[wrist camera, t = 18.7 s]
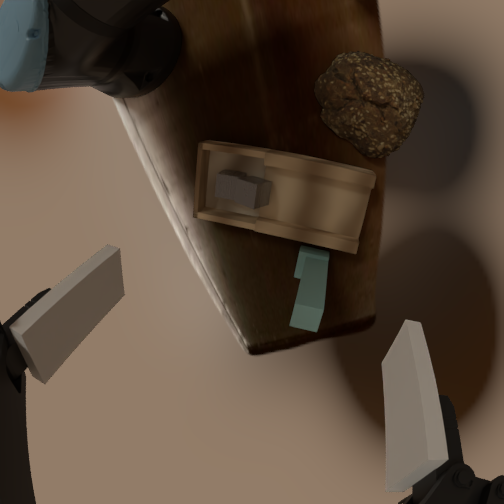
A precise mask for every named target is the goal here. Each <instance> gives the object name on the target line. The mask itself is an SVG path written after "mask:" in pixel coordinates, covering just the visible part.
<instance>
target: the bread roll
mask: <svg viewBox="0 0 504 504" xmlns="http://www.w3.org/2000/svg"><path fill="white" fill-rule="evenodd" d="M314 92H315V96H316V98H317V100H318V102H319V104H320V105H321V106H322V107H323V109H322V110H323V111H322V112H321V115H320V117H321V118H322V121H323V122H324V123H325V124H326V125H327V126H328V127H329V128H330V129H331V130H333V131H334V132H335V134H336V135H338V136H340V137H341V138H345V139H346V140H348V141H349V142H351V143H352V144H353V145H354V146H355V147H356V148H357V149H358V150H359V151H360V152H361V154H365V155H367V156H368V157H371V158H376V157H378V158H382V157H384V156H389V155H390V153H391V152H394V151H396V150H399V148H400V145H402V143H403V141H405V140H406V139H407V138H408V136H409V135H410V132H411V130H412V128H413V127H414V124H415V122H416V119H417V117H418V116H417V115H418V114H419V109H420V108H421V106H420V105H421V103H423V98H424V92H423V89H422V86H421V85H420V83H419V82H418V81H417V80H416V79H415V78H414V76H412V74H411V73H409V71H408V70H405V69H404V68H403V67H401V66H398V65H397V64H394V63H393V62H391V61H390V60H389V59H387V58H385V59H383V58H379V57H375V56H373V55H370V54H367V53H364V52H363V53H362V52H359V51H357V52H352V51H351V52H349V53H348V54H346V53H343V54H340V55H338V56H337V58H336V59H334V60H333V62H332V65H331V66H330V67H329V68H328V69H327V71H326V72H325V73H324V74H322V75H320V77H319V78H318V79H317V80H316V82H315V89H314Z"/></svg>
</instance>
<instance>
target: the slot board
mask: <svg viewBox="0 0 504 504" xmlns="http://www.w3.org/2000/svg"><path fill="white" fill-rule="evenodd" d="M224 169H227V170H233V171H239V172H245V173H247V175H246V177H248V176H256V177H259V178H262V179H266V180H269V181H272V186H271V193H270V199H269V205H266V206H263V207H260V208H257V209H252V208H249V207H246V206H244V205H241V204H238V203H235V200H230V199H225V198H219V197H215V188H216V176H217V173H219V172H221V171H222V170H224ZM375 180H376V175H375V173H374V172H373V171H372V170H368V169H364V168H360V167H356V166H351V165H347V164H343V163H338V162H334V161H329V160H325V159H320V158H315V157H310V156H305V155H300V154H295V153H290V152H284V151H279V150H273V149H267V148H261V147H255V146H248V145H242V144H235V143H228V142H220V141H212V140H206V141H203V142H199V143H198V154H197V166H196V180H195V195H194V211H193V217H194V218H199V219H204V220H209V221H214V222H218V223H223V224H228V225H232V226H237V227H242V228H246V229H251V230H254V231H256V232H260V233H265V234H269V235H274V236H278V237H283V238H287V239H292V240H296V241H301V242H305V243H310V244H314V245H318V246H323V247H327V248H331V249H336V250H340V251H344V252H349V253H353V254H356V253H357V249H358V246H359V239H358V238H359V235H360V231H361V228H362V224H363V220H364V216H365V212H366V209H367V205H368V201H369V197H370V192H371V188H373V189H374V185H375Z"/></svg>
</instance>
